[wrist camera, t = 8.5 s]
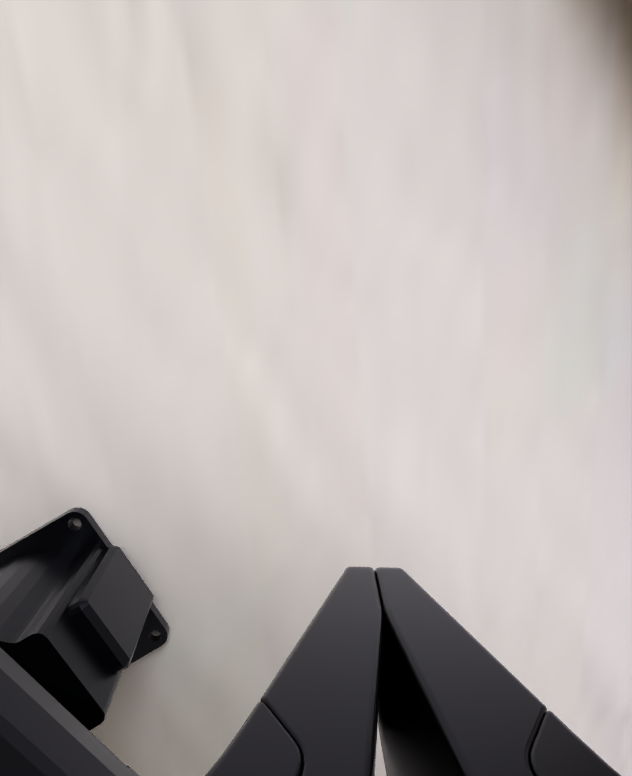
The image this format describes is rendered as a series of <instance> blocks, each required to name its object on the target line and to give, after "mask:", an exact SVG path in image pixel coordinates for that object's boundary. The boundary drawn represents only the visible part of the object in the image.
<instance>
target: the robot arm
mask: <svg viewBox="0 0 632 776" xmlns="http://www.w3.org/2000/svg"><path fill="white" fill-rule="evenodd" d="M72 518H78V519H79V520H80V521H81V523H82V526H75V525H74V524H73V523H72V521H71V519H72ZM152 600H153V594H152V593H151V591H150V590H149V588H148V587H147V586H146V584H145V583H144V581H143V580H142V579H141V577H140V576H139V574H138V573H137V571H136V570H135V569H134V567H133V566H132V564H131V563H130V561H129V560H128V559H127V557H126V556H125V554H124V553H123V552H122V550H121V549H120V548H119V547H117V546H114V545H112V544H111V543H110V542H109V540H108V539H107V537H106V536H105V535H104V533H103V532H102V530H101V529H100V527H99V526H98V525H97V523H96V522H95V520H94V519H93V518H92V516H91V515H90V513H89V512H88V511H86V510H85V509H82V508H73V509H71V510H69V511H67V512H65V513H64V514H62V515H60V516H59V517H57V518H55V519H53V520H52V521H50V522H48V523H46V524H45V525H43V526H41V527H40V528H38V529H36V530H34V531H33V532H31V533H29V534H27V535H26V536H24V537H22V538H21V539H19V540H17V541H15V542H14V543H12V544H10V545H9V546H7V547H5V548H3V549H2V550H0V776H139V775H138V774H136V773H135V772H134V771H133V770H132V769H131V768H130V767H129V766H126V765H125V764H124V763H123V762H122V761H120V760H119V759H118V758H117V757H116V756H115V755H114V754H113V753H112V752H111V751H110V750H109V749H108V748H107V747H106V746H105V745H104V744H102V743H101V742H100V741H99V740H98V739H97V738H96V737H95V736H94V735H93V734H92V733H91V732H90V731H89V730H91V729H93V728H94V727H96V726H98V725H99V724H101V723H102V722H103V721H104V719H105V716H106V714H107V711H108V708H109V706H110V703H111V700H112V698H113V695H114V692H115V690H116V687H117V684H118V682H119V679H120V676H121V673H122V671H123V670H124V669H126V668H128V666H129V665H130V664H131V663H133V662H134V661H136V660H138V659H140V658H141V657H143V656H145V655H146V654H148V653H150V652H152V651H153V650H155V649H157V648H159V647H160V646H162V645H163V644H164V643H165V642H166V640H167V638H168V635H169V626H168V624H167V622H166V621H165V620H164V618H163V617H162V615H161V614H160V612H159V611H158V610H157V608H156V607H155V605H154V604H153V603H152ZM153 630H157V631H159V632H160V633H161V635H158V636H155V635H153V634H151V631H153ZM377 724H378V726H379V733H380V739H381V746H382V751H383V757H384V763H385V768H386V774H387V776H621V775H620V774H619V773H617V772H616V771H615V770H614V769H613V768H612V767H610V766H609V765H608V764H607V763H606V762H605V761H604V760H603V759H602V758H600V757H599V756H598V755H597V754H596V753H595V752H594V751H593V750H592V749H591V748H590V747H588V746H587V745H586V744H585V743H584V742H583V741H582V740H581V739H580V738H579V737H578V736H576V735H575V734H574V733H573V732H572V731H571V730H570V729H569V728H568V727H567V726H566V725H565V724H564V723H563V722H562V721H561V720H560V719H559V718H557V717H556V716H555V715H554V714H553V713H552V712H551V711H547V708H546V706H545V705H544V704H543V703H542V702H540V701H539V700H538V699H537V698H536V697H535V696H534V695H533V694H532V693H531V692H530V691H529V690H528V689H527V688H526V687H525V686H524V685H523V684H522V683H521V682H520V681H519V680H518V679H516V678H515V677H514V676H513V675H512V674H511V673H510V672H509V671H508V670H507V669H506V668H505V667H504V666H503V665H502V664H501V663H500V662H499V661H498V660H497V659H496V658H495V657H494V656H492V655H491V654H490V653H489V652H488V651H487V650H486V649H485V648H484V647H483V646H482V645H481V644H480V643H479V642H478V641H477V640H476V639H475V638H474V637H473V636H472V635H471V634H470V633H469V632H467V631H466V630H465V629H464V628H463V627H462V626H461V625H460V624H459V623H458V622H457V621H456V620H455V619H454V618H453V617H452V616H451V615H450V614H449V613H448V612H447V611H446V610H445V609H443V608H442V607H441V606H440V605H439V604H438V603H437V602H436V601H435V600H434V599H433V598H432V597H431V596H430V595H429V594H428V593H427V592H426V591H425V590H424V589H423V588H422V587H421V586H419V585H418V584H417V583H416V582H415V581H414V580H413V579H412V578H411V577H410V576H409V575H408V574H407V573H406V572H405V571H404V570H402V569H401V568H382V567H380V568H377V569H376V570H375V572H374V570H373V569H372V568H370V567H348V568H347V569H346V570H345V571H344V573H343V574H342V576H341V577H340V579H339V581H338V582H337V584H336V585H335V587H334V588H333V590H332V591H331V593H330V594H329V596H328V597H327V599H326V600H325V602H324V603H323V605H322V606H321V608H320V610H319V611H318V613H317V614H316V616H315V617H314V619H313V620H312V622H311V623H310V625H309V626H308V628H307V629H306V631H305V632H304V634H303V635H302V637H301V638H300V640H299V642H298V643H297V645H296V646H295V648H294V649H293V651H292V652H291V654H290V655H289V657H288V658H287V660H286V661H285V663H284V664H283V666H282V667H281V669H280V671H279V672H278V674H277V675H276V677H275V678H274V680H273V681H272V683H271V684H270V686H269V687H268V689H267V690H266V692H265V693H264V695H263V696H262V698H261V702H259V703H258V704H257V705H256V707H255V708H254V710H253V711H252V713H251V714H250V716H249V717H248V719H247V720H246V722H245V723H244V725H243V726H242V728H241V729H240V731H239V732H238V733H237V735H236V736H235V738H234V739H233V740H232V742H231V743H230V745H229V746H228V747H227V749H226V750H225V752H224V753H223V754H222V756H221V757H220V758H219V759H218V761H217V762H216V763H215V764H214V766H213V767H212V768H211V769H210V770H209V772H208V773H207V774H206V775H205V776H375V759H376V743H377Z"/></svg>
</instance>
